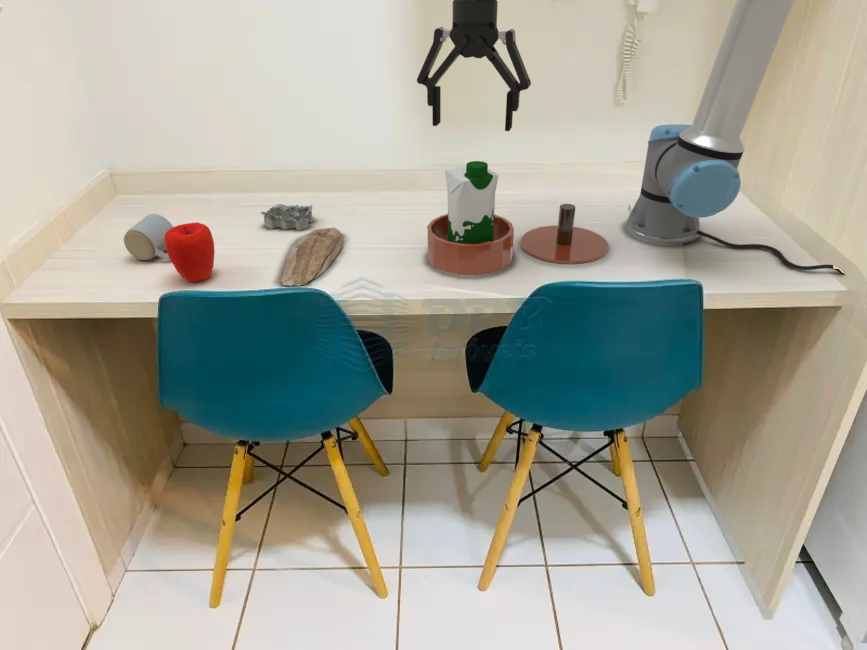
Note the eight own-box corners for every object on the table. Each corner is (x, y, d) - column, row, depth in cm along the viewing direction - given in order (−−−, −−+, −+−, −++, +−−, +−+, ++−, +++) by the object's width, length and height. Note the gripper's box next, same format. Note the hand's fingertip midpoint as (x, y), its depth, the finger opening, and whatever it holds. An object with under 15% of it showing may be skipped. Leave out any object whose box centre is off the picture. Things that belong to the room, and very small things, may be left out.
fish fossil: (326, 286, 120) (325, 280, 120) (274, 289, 121) (273, 284, 120) (345, 229, 142) (344, 224, 141) (300, 233, 143) (299, 228, 142)
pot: (518, 245, 135) (520, 215, 131) (502, 282, 121) (504, 250, 117) (441, 236, 139) (441, 207, 136) (417, 271, 125) (416, 240, 121)
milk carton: (461, 270, 125) (462, 171, 114) (441, 252, 132) (440, 158, 121) (499, 261, 128) (503, 164, 117) (477, 244, 135) (480, 151, 124)
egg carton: (261, 229, 145) (258, 212, 142) (274, 216, 151) (271, 200, 149) (305, 231, 143) (302, 214, 140) (316, 218, 149) (314, 202, 147)
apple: (199, 263, 130) (188, 214, 124) (230, 272, 126) (219, 222, 120) (164, 281, 123) (150, 229, 117) (195, 291, 119) (182, 239, 114)
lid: (609, 235, 139) (615, 195, 134) (604, 271, 124) (610, 228, 119) (527, 226, 143) (530, 187, 138) (513, 261, 128) (515, 218, 124)
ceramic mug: (125, 260, 131) (116, 226, 127) (149, 244, 138) (141, 211, 134) (171, 266, 129) (162, 231, 125) (193, 249, 136) (185, 216, 132)
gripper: (396, -3, 105) (401, 127, 116) (547, 0, 98) (536, 136, 110) (411, -6, 111) (414, 117, 122) (553, -4, 105) (542, 126, 116)
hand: (471, 126), depth 116 cm, fingers open, 13 cm apart
